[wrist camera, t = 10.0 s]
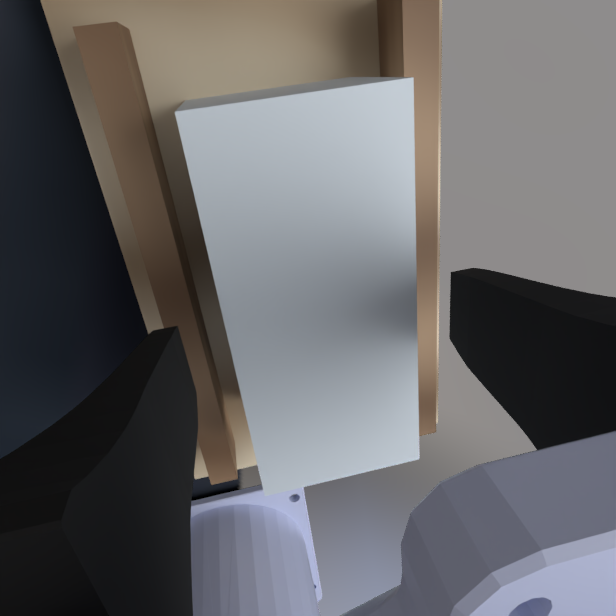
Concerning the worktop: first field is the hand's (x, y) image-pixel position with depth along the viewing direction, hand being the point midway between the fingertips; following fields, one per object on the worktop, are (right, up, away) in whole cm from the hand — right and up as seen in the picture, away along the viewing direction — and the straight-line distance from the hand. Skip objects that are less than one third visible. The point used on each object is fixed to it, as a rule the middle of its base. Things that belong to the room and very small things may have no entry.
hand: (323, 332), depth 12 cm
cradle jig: (-1, +3, +5) cm, 6 cm away
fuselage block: (-1, +2, +4) cm, 5 cm away
